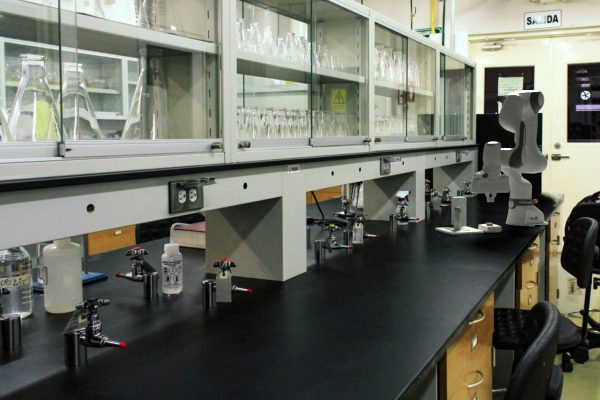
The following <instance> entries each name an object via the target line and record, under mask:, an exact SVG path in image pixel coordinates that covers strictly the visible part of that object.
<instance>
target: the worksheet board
mask: <svg viewBox="0 0 600 400" xmlns="http://www.w3.org/2000/svg"><path fill="white" fill-rule="evenodd" d="M434 230H435V231H437V232H441V233H445V234H448V235H452V236H455V235H474V234H484V233H485V232H484V231H482V230H478V228H474V227H470V226H467V225H466V226H464V227H461V229H460V230H456V229H455V226H451V227H450V226H447V227H435V229H434Z"/></svg>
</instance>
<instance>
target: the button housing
mask: <svg viewBox="0 0 600 400" xmlns="http://www.w3.org/2000/svg"><path fill="white" fill-rule="evenodd" d="M486 224H487V223H484V224H478V227H477V229H478V230H482V231H484V233H487V234H491V233H493V234H494V233H502V226H501V225H498V224H494V223H493V226H486Z"/></svg>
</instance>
